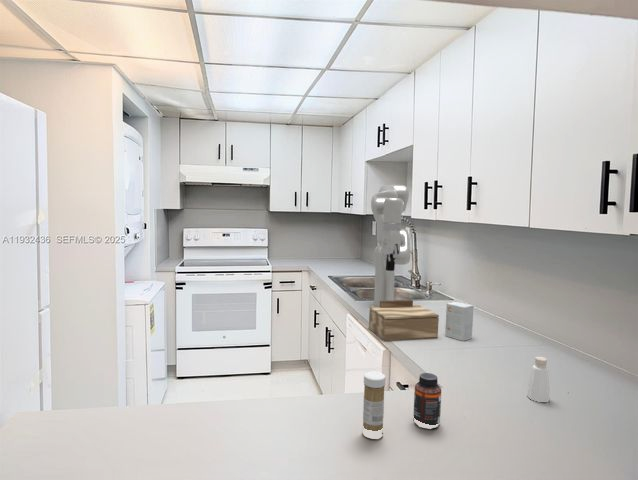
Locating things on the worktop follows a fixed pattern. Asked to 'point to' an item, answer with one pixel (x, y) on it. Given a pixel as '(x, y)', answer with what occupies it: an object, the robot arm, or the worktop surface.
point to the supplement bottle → (427, 399)
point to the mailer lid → (402, 310)
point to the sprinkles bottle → (373, 401)
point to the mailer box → (403, 327)
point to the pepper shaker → (539, 381)
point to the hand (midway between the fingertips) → (390, 270)
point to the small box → (459, 321)
